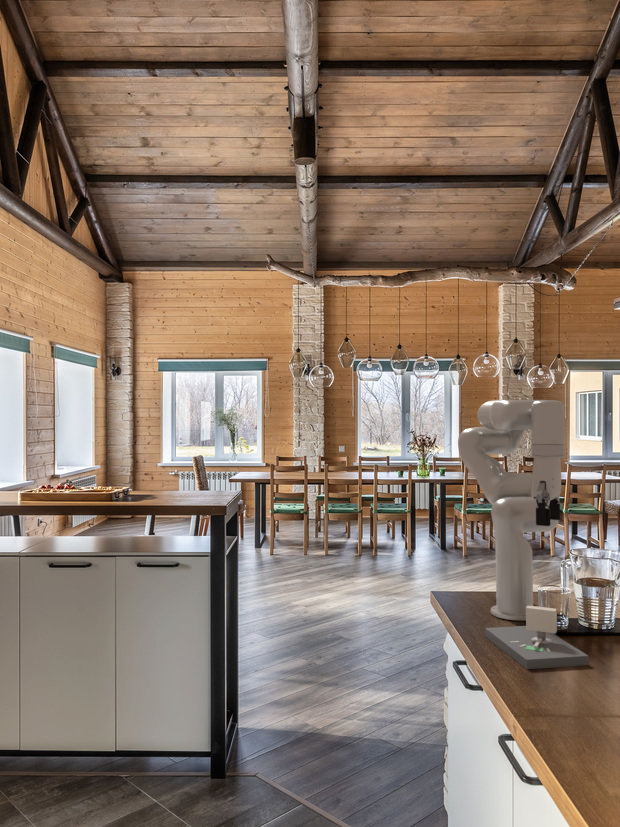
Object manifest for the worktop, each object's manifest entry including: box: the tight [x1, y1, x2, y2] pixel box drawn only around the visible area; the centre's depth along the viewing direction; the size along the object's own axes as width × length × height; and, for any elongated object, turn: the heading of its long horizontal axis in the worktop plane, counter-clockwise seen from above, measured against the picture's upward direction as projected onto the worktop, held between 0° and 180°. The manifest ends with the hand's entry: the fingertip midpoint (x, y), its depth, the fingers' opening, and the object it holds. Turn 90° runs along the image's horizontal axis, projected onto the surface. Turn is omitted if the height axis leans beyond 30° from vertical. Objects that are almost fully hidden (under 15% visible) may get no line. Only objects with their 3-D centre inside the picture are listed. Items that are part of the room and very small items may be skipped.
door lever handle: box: [525, 605, 558, 649], centre depth 150 cm, size 6×9×7 cm
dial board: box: [484, 625, 590, 670], centre depth 153 cm, size 22×14×2 cm, turn 8°
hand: (548, 522), depth 161 cm, fingers open, 9 cm apart
